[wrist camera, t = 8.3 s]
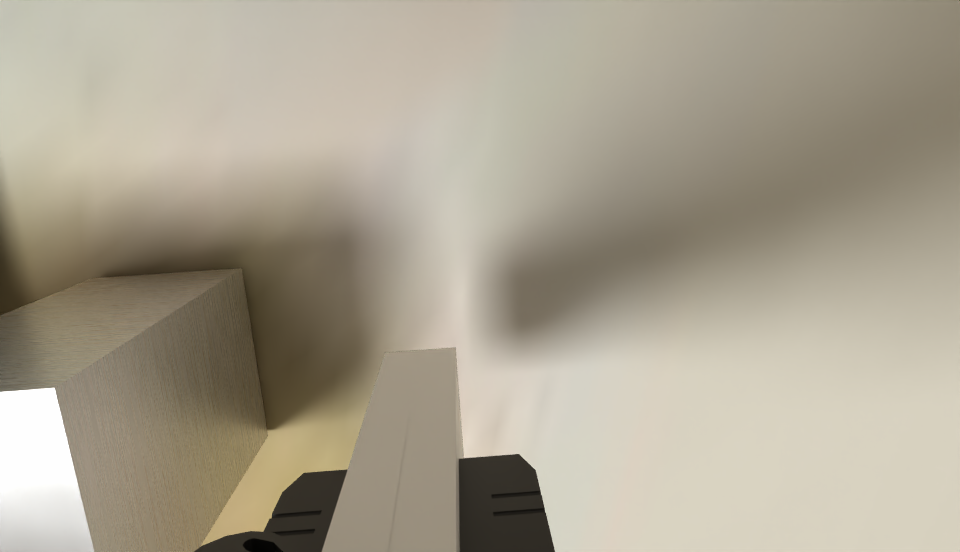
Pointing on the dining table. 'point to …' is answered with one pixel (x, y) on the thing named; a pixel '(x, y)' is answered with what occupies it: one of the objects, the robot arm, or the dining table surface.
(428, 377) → the robot arm
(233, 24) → the dining table surface
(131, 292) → the block
